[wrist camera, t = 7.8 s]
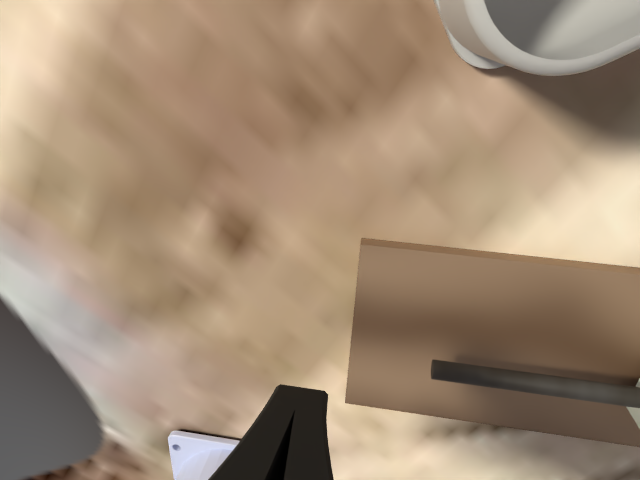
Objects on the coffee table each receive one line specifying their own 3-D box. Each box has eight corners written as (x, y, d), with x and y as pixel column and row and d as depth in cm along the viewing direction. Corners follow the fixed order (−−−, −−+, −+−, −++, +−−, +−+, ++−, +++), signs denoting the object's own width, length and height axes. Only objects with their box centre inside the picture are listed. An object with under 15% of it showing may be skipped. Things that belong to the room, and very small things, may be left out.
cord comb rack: (772, 456, 21) (922, 628, 15) (346, 394, 23) (329, 521, 17) (891, 294, 17) (1162, 442, 11) (361, 238, 19) (347, 334, 13)
